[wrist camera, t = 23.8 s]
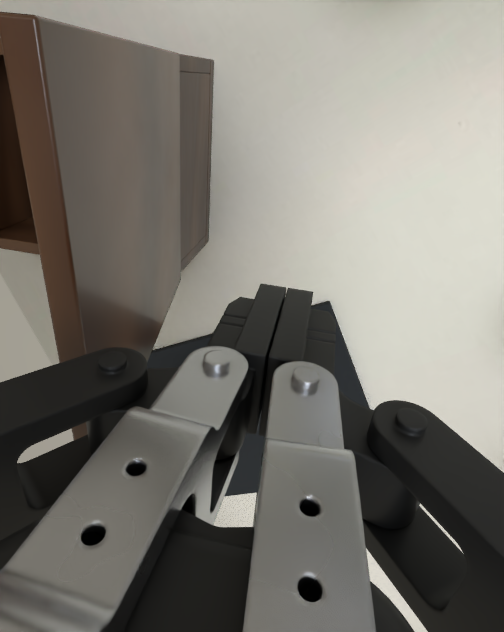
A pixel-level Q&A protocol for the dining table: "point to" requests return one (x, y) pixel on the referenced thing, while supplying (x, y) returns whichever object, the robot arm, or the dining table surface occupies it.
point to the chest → (195, 164)
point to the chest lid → (99, 178)
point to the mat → (252, 446)
